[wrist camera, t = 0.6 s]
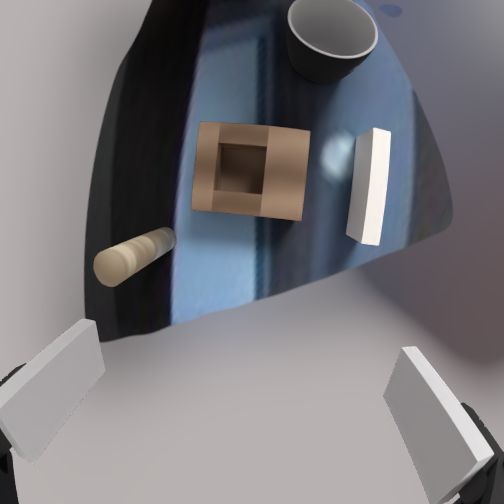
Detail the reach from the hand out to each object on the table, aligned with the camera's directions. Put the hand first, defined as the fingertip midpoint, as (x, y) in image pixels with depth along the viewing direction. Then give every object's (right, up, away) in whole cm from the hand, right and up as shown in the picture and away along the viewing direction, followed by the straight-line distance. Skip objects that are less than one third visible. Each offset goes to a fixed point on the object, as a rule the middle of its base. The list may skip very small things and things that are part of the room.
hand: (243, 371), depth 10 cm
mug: (+9, +30, +18) cm, 36 cm away
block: (0, +14, +21) cm, 26 cm away
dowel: (-10, +6, +24) cm, 27 cm away
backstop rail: (+13, +13, +21) cm, 28 cm away
